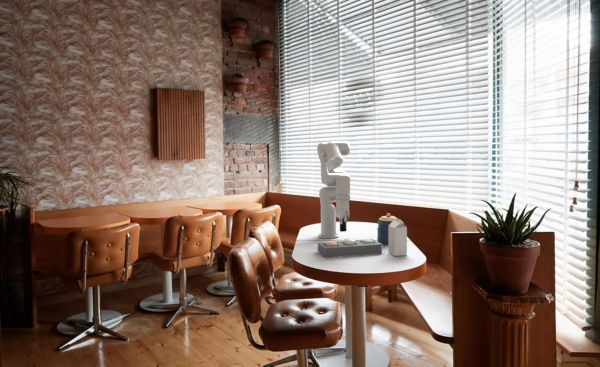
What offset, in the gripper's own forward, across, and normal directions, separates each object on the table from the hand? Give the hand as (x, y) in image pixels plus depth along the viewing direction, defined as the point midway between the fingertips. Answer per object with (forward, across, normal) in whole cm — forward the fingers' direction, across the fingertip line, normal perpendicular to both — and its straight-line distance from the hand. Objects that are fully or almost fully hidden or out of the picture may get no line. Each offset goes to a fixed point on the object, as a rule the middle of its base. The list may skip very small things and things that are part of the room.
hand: (343, 231), depth 226 cm
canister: (+12, -17, +33) cm, 39 cm away
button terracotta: (+9, 0, -7) cm, 11 cm away
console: (+12, 0, +4) cm, 13 cm away
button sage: (+9, -1, +14) cm, 17 cm away
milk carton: (+12, +10, +27) cm, 31 cm away
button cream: (+8, 0, +4) cm, 9 cm away
